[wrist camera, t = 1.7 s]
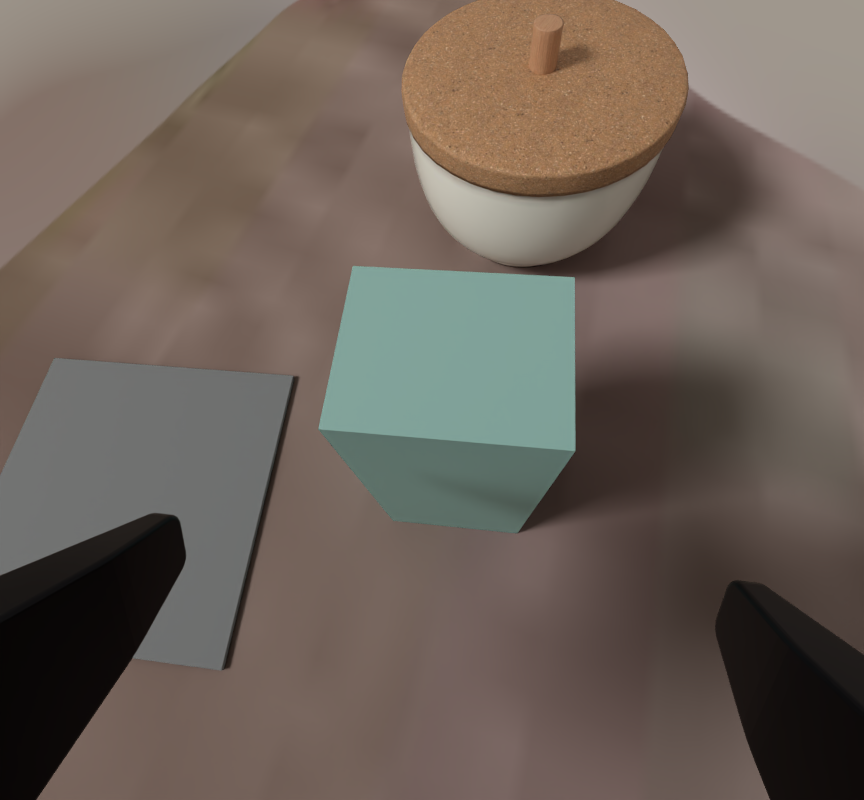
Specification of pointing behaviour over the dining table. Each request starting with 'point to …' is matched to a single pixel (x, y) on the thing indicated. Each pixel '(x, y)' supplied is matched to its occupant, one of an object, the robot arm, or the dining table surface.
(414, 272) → the block
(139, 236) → the dining table surface
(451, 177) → the lidded jar
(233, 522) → the mat
